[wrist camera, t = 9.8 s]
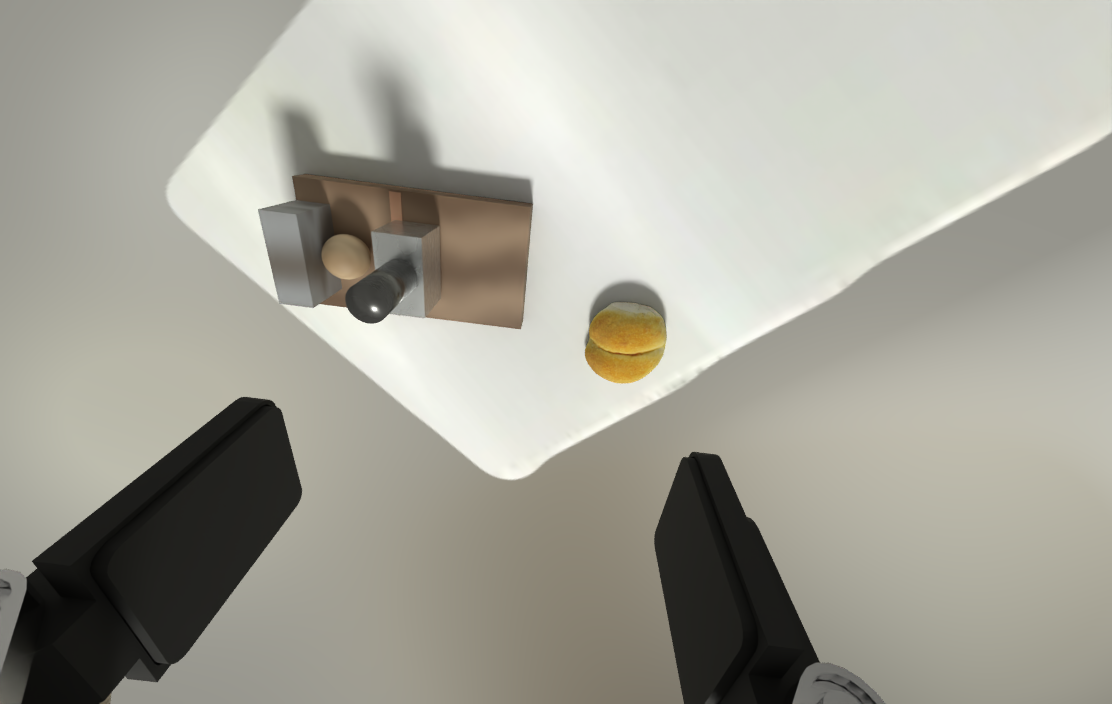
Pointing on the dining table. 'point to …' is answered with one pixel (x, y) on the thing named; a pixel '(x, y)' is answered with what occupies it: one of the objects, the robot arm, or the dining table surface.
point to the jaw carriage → (399, 273)
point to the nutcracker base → (360, 207)
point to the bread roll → (625, 342)
